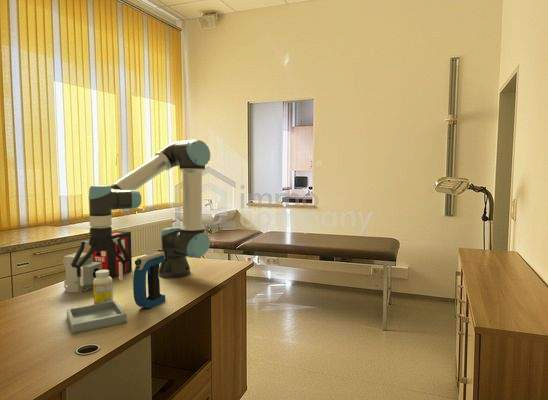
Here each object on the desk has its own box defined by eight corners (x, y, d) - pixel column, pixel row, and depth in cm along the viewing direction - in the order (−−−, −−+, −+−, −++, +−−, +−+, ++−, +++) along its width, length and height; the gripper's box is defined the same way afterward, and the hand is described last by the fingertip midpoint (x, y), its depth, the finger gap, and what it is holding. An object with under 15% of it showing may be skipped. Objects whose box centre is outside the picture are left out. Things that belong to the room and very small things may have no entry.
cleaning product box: (109, 279, 175) (108, 237, 173) (93, 278, 177) (92, 236, 175) (131, 270, 190) (130, 231, 189) (117, 269, 193) (115, 231, 191)
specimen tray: (116, 308, 139) (115, 300, 139) (126, 322, 126) (126, 313, 125) (66, 317, 130) (66, 309, 130) (72, 334, 117) (72, 325, 116)
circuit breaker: (94, 293, 155) (93, 258, 154) (64, 291, 158) (63, 256, 157) (106, 288, 162) (104, 254, 161) (77, 286, 165) (75, 252, 164)
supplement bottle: (97, 301, 146) (96, 269, 145) (115, 300, 146) (114, 268, 145) (91, 307, 139) (89, 273, 138) (109, 307, 140) (108, 273, 139)
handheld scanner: (170, 298, 149) (168, 249, 148) (143, 313, 134) (141, 258, 132) (160, 297, 150) (158, 249, 149) (133, 311, 135) (130, 258, 134)
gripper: (132, 223, 151) (133, 275, 152) (61, 227, 137) (63, 285, 138) (137, 225, 144) (138, 279, 146) (63, 230, 130) (65, 290, 132)
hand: (101, 282), depth 142 cm, fingers open, 13 cm apart
